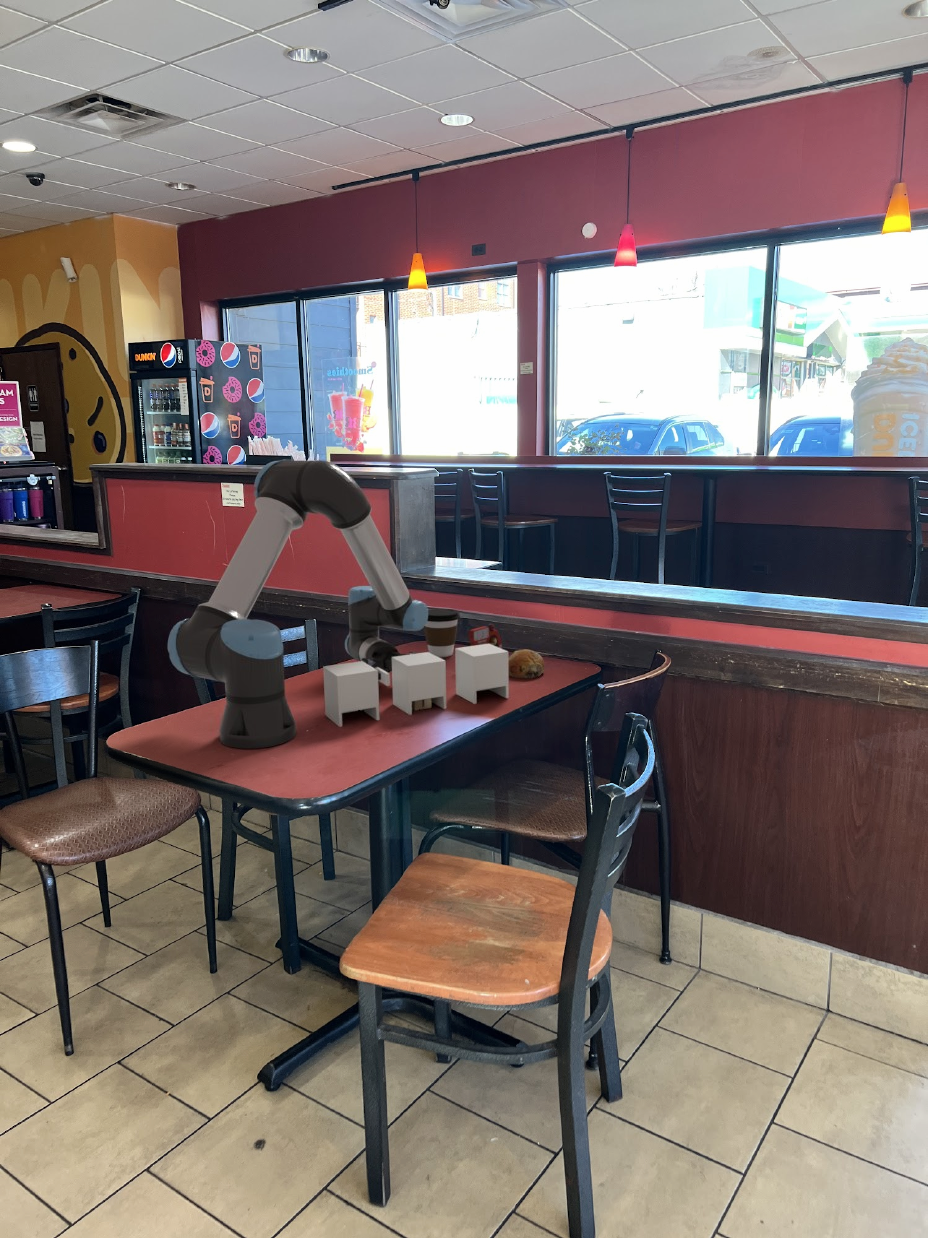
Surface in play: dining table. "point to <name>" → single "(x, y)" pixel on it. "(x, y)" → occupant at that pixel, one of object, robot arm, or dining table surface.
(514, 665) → the bread roll
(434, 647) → the coffee cup
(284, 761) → the dining table surface
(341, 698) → the matte white cube
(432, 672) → the tall off-white cuboid
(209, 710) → the dining table surface
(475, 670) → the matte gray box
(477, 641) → the toy fire truck
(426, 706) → the letter cube
